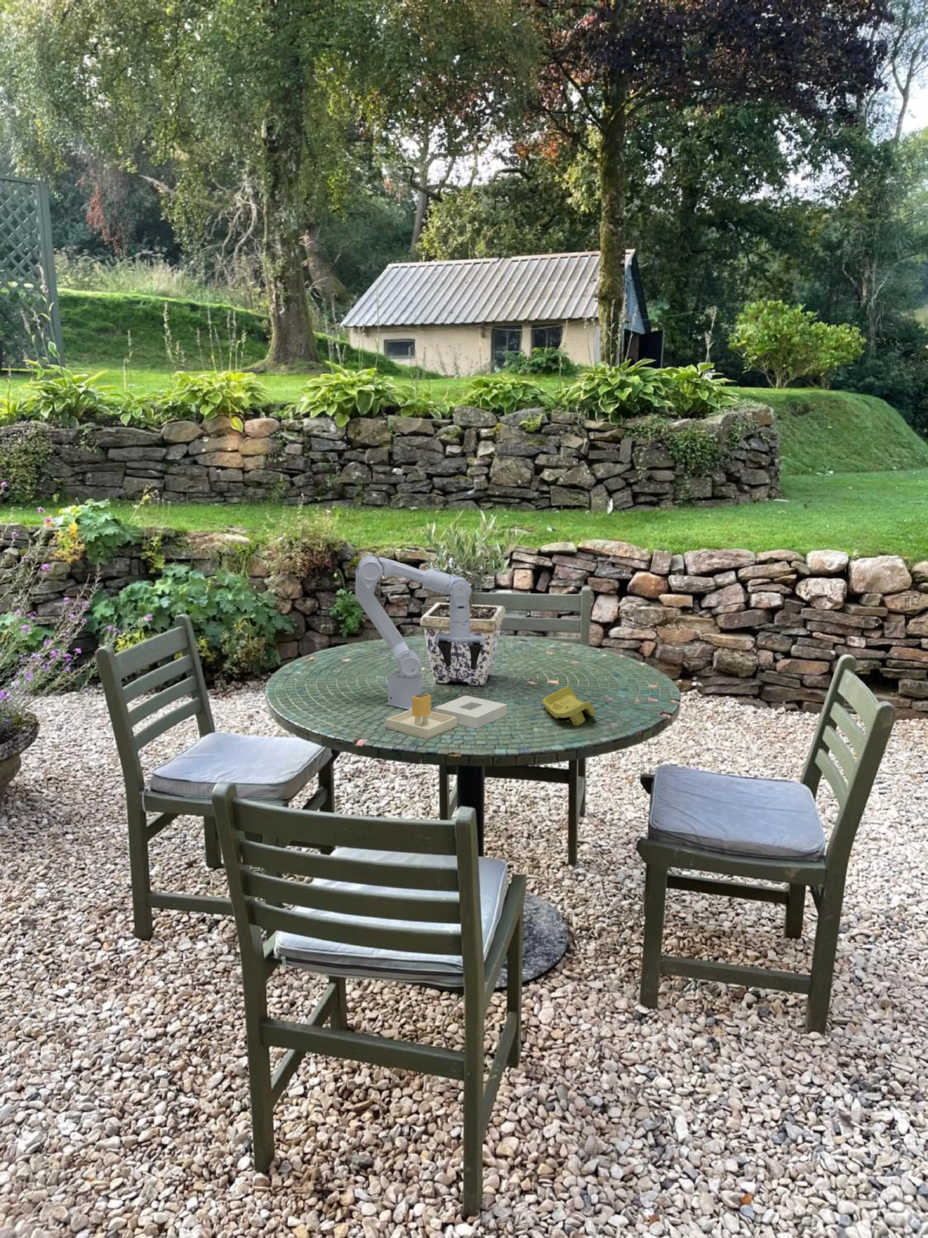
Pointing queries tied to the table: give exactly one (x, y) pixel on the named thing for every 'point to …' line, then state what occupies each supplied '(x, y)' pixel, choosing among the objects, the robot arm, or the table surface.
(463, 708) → the fuse block
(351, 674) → the table surface
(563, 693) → the plastic component
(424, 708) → the fuse
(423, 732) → the parts tray
